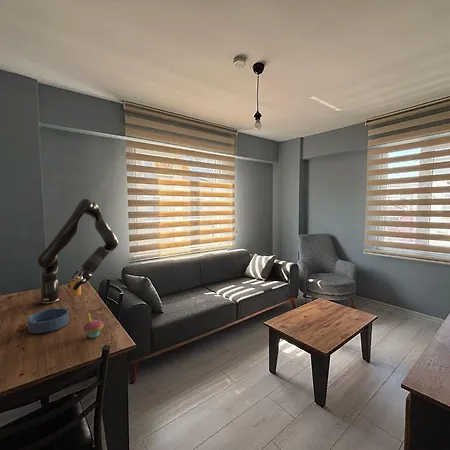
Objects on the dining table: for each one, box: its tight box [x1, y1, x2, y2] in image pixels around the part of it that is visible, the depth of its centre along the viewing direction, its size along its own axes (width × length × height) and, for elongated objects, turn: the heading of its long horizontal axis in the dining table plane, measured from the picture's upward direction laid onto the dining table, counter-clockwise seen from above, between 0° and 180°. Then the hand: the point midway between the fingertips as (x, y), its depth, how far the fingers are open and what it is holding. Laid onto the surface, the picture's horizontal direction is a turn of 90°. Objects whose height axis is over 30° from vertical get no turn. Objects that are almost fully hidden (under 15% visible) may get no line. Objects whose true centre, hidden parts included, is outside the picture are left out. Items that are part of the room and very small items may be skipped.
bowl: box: [26, 307, 70, 334], centre depth 130 cm, size 18×18×6 cm
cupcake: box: [82, 312, 104, 339], centre depth 120 cm, size 9×8×12 cm
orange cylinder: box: [69, 280, 82, 297], centre depth 138 cm, size 5×5×8 cm
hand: (71, 288), depth 136 cm, fingers closed on orange cylinder, 5 cm apart
